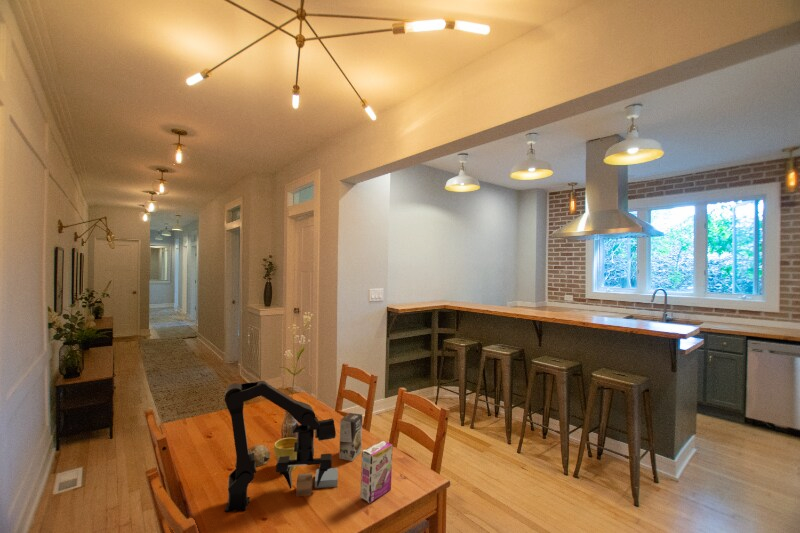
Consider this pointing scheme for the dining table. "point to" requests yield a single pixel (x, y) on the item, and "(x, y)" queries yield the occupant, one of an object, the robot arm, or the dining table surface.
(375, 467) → the candy bar box
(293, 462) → the robot arm
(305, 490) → the walnut cube
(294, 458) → the plant pot
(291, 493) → the dining table surface
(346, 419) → the coffee box
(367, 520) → the dining table surface
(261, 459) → the grey rounded lump
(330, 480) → the plinth
